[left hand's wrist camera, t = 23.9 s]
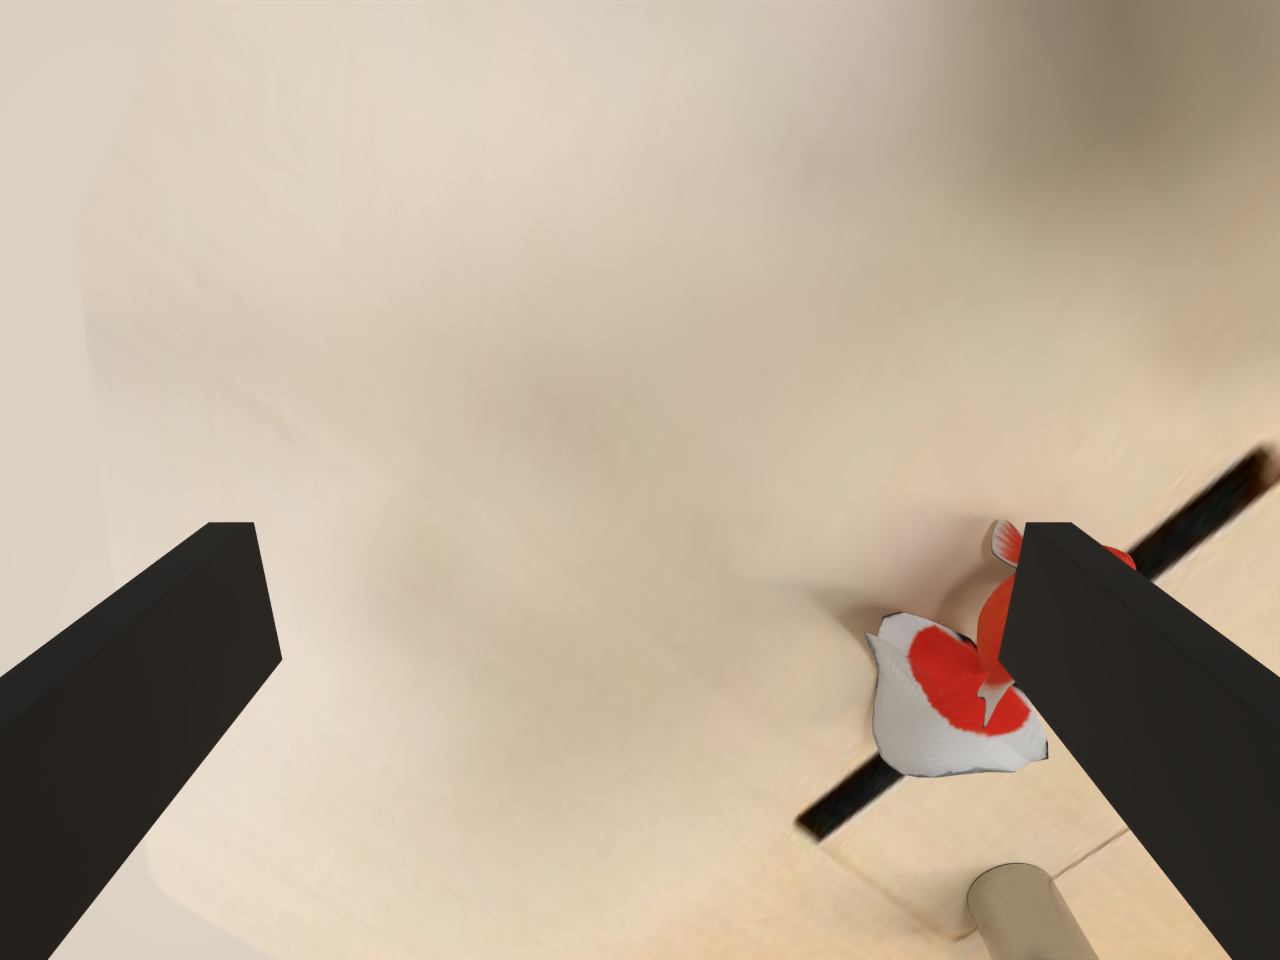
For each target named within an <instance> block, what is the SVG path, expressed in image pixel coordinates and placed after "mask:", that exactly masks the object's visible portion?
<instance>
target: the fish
mask: <svg viewBox="0 0 1280 960" xmlns="http://www.w3.org/2000/svg"><path fill="white" fill-rule="evenodd" d="M1022 540H1023V536H1022V535H1021V534H1020V533H1019V532H1018V531H1017V529H1016V528H1015V527H1014V526H1013V525H1012V524H1011V523H1009V522H1007V521H1000V520H997V523H996V525H995V528H994V530H993V532H992V543H991V548H992V552H993V554H994V555H995V556H996V557H998V558H999V559H1001V560H1002V561H1004V562H1005V563H1007V564H1008V565H1010V566H1012V567H1014V568H1016V569H1017V564H1018V559H1019V554H1020V550H1021V545H1022ZM1102 546H1104V545H1102ZM1104 547H1105V548H1106V549H1108V550H1109V551H1110V552H1112V553H1113V554H1114V555H1116V556H1117V557H1119V558H1120V559H1121V560H1123V561H1124V562H1125V563H1127V564H1128V565H1129V566H1131V567H1132V568H1133V569H1135V570H1136V567H1135V564H1134V562H1133V560H1132V558H1131V557H1130V556H1129V555H1128V554H1126V553H1124V552H1122V551H1120V550H1118V549H1115V548H1112V547H1108V546H1104ZM1014 578H1015V574H1014V575H1013V576H1011V577H1009V578H1008V579H1007V580H1005V581H1004V582H1003V583H1002V584H1000V585H999V586H998V587H997V588H996V589H995V591H994V592H993V593H992V595H991V596H990V597H989V599H988V600H987V601H986V603H985V605H984V607H983V609H982V611H981V613H980V616H979V620H978V628H977V640H976V641H972V640H971V639H970V638H968V637H966V636H964V635H962V634H960V633H957V632H955V631H953V630H951V629H949V628H946V627H944V626H942V625H940V624H937V623H935V622H933V621H930V620H927V619H924V618H921V617H918V616H915V615H911V614H907V613H903V612H898V613H894V614H890V615H887V616H883V618H882V622H881V625H880V629H879V633H878V636H875V635H872V634H869V633H866V632H864V634H865V637H866V639H867V642H868V644H869V646H870V649H871V651H872V653H873V655H874V657H875V661H876V664H877V667H878V671H879V674H878V679H877V684H876V691H875V701H874V710H873V736H874V739H875V741H876V744H877V747H878V750H879V752H880V755H881V757H882V759H884V760H885V761H886V762H887V763H888V764H889V765H890V766H891V767H892V768H894V769H895V770H897V771H898V772H900V773H901V774H904V775H909V776H914V777H944V776H952V775H960V774H971V773H982V772H1016V771H1017V770H1019V769H1021V768H1022V767H1024V766H1026V765H1027V764H1029V763H1031V762H1034V761H1039V760H1044V759H1048V742H1047V739H1046V736H1045V733H1044V731H1043V728H1042V725H1041V723H1040V721H1039V719H1038V717H1037V715H1036V713H1035V712H1034V710H1033V708H1032V706H1031V704H1030V702H1029V701H1028V699H1027V697H1026V695H1025V694H1024V693H1023V691H1022V690H1021V689H1020V688H1019V686H1018V685H1017V684H1016V682H1015V681H1014V680H1013V679H1012V677H1011V676H1010V675H1009V673H1008V672H1007V671H1006V670H1005V668H1004V667H1003V666H1002V665H1001V663H1000V662H999V661H998V655H999V651H1000V646H1001V641H1002V636H1003V631H1004V627H1005V622H1006V617H1007V612H1008V607H1009V603H1010V598H1011V593H1012V588H1013V583H1014Z"/></svg>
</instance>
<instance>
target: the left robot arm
mask: <svg viewBox="0 0 1280 960" xmlns="http://www.w3.org/2000/svg"><path fill="white" fill-rule="evenodd" d="M281 661H282V655H281V651H280V646H279V641H278V636H277V631H276V627H275V622H274V617H273V612H272V607H271V603H270V598H269V593H268V588H267V583H266V578H265V574H264V569H263V564H262V559H261V554H260V550H259V545H258V540H257V535H256V530H255V526H254V522H209V523H207V524H206V525H205V526H203V527H202V528H201V529H199V530H198V531H196V532H195V533H194V534H192V535H191V536H190V537H188V538H187V539H186V540H184V541H183V542H182V543H180V544H179V545H178V546H176V547H175V548H174V549H172V550H171V551H170V552H168V553H167V554H166V555H164V556H163V557H161V558H160V559H159V560H157V561H156V562H155V563H153V564H152V565H151V566H149V567H148V568H147V569H145V570H144V571H143V572H141V573H140V574H139V575H137V576H136V577H135V578H133V579H132V580H131V581H129V582H128V583H126V584H125V585H124V586H122V587H121V588H120V589H118V590H117V591H116V592H114V593H113V594H112V595H110V596H109V597H108V598H106V599H105V600H104V601H102V602H101V603H100V604H98V605H97V606H96V607H94V608H93V609H92V610H90V611H89V612H87V613H86V614H85V615H83V616H82V617H81V618H79V619H78V620H77V621H75V622H74V623H73V624H71V625H70V626H69V627H67V628H66V629H65V630H63V631H62V632H61V633H59V634H58V635H57V636H55V637H54V638H52V639H51V640H50V641H48V642H47V643H46V644H44V645H43V646H42V647H40V648H39V649H38V650H36V651H35V652H34V653H32V654H31V655H30V656H28V657H27V658H26V659H24V660H23V661H22V662H20V663H19V664H17V665H16V666H15V667H14V668H12V669H11V670H9V671H8V672H7V673H5V674H4V675H3V676H1V677H0V960H48V959H49V958H50V956H51V955H52V954H53V952H54V951H55V950H56V949H57V947H58V946H59V945H60V943H61V942H62V941H63V940H64V938H65V937H66V936H67V934H68V933H69V932H70V931H71V929H72V928H73V927H74V925H75V924H76V923H77V922H78V920H79V919H80V918H81V917H82V915H83V914H84V913H85V911H86V910H87V909H88V908H89V906H90V905H91V904H92V902H93V901H94V900H95V899H96V897H97V896H98V895H99V894H100V892H101V891H102V890H103V888H104V887H105V886H106V885H107V883H108V882H109V881H110V879H111V878H112V877H113V876H114V874H115V873H116V872H117V870H118V869H119V868H120V867H121V865H122V864H123V863H124V861H125V860H126V859H127V858H128V856H129V855H130V854H131V853H132V851H133V850H134V849H135V847H136V846H137V845H138V844H139V842H140V841H141V840H142V839H143V837H144V836H145V835H146V833H147V832H148V831H149V830H150V828H151V827H152V826H153V824H154V823H155V822H156V821H157V819H158V818H159V817H160V815H161V814H162V813H163V812H164V810H165V809H166V808H167V807H168V805H169V804H170V803H171V801H172V800H173V799H174V798H175V796H176V795H177V794H178V792H179V791H180V790H181V789H182V787H183V786H184V785H185V784H186V782H187V781H188V780H189V778H190V777H191V776H192V775H193V773H194V772H195V771H196V769H197V768H198V767H199V766H200V764H201V763H202V762H203V760H204V759H205V758H206V757H207V755H208V754H209V753H210V752H211V750H212V749H213V748H214V746H215V745H216V744H217V743H218V741H219V740H220V739H221V737H222V736H223V735H224V734H225V732H226V731H227V730H228V728H229V727H230V726H231V725H232V723H233V722H234V721H235V720H236V718H237V717H238V716H239V714H240V713H241V712H242V711H243V709H244V708H245V707H246V705H247V704H248V703H249V702H250V700H251V699H252V698H253V697H254V695H255V694H256V693H257V691H258V690H259V689H260V688H261V686H262V685H263V684H264V682H265V681H266V680H267V679H268V677H269V676H270V675H271V673H272V672H273V671H274V670H275V668H276V667H277V666H278V665H279V663H280V662H281ZM998 661H999V662H1000V663H1001V665H1002V666H1003V667H1004V668H1005V670H1006V671H1007V672H1008V673H1009V675H1010V676H1011V677H1012V679H1013V680H1014V681H1015V682H1016V684H1017V685H1018V686H1019V688H1020V689H1021V690H1022V691H1023V693H1024V694H1025V695H1026V697H1027V698H1028V699H1029V700H1030V702H1031V703H1032V704H1033V705H1034V707H1035V708H1036V709H1037V711H1038V712H1039V713H1040V714H1041V716H1042V717H1043V718H1044V720H1045V721H1046V722H1047V723H1048V725H1049V726H1050V727H1051V728H1052V730H1053V731H1054V732H1055V734H1056V735H1057V736H1058V737H1059V739H1060V740H1061V741H1062V743H1063V744H1064V745H1065V746H1066V748H1067V749H1068V750H1069V752H1070V753H1071V754H1072V755H1073V757H1074V758H1075V759H1076V760H1077V762H1078V763H1079V764H1080V766H1081V767H1082V768H1083V769H1084V771H1085V772H1086V773H1087V775H1088V776H1089V777H1090V778H1091V780H1092V781H1093V782H1094V784H1095V785H1096V786H1097V787H1098V789H1099V790H1100V791H1101V792H1102V794H1103V795H1104V796H1105V798H1106V799H1107V800H1108V801H1109V803H1110V804H1111V805H1112V807H1113V808H1114V809H1115V810H1116V812H1117V813H1118V814H1119V815H1120V817H1121V818H1122V819H1123V821H1124V822H1125V823H1126V824H1127V826H1128V827H1129V828H1130V830H1131V831H1132V832H1133V833H1134V835H1135V836H1136V837H1137V839H1138V840H1139V841H1140V842H1141V844H1142V845H1143V846H1144V847H1145V849H1146V850H1147V851H1148V853H1149V854H1150V855H1151V856H1152V858H1153V859H1154V860H1155V862H1156V863H1157V864H1158V865H1159V867H1160V868H1161V869H1162V871H1163V872H1164V873H1165V874H1166V876H1167V877H1168V878H1169V879H1170V881H1171V882H1172V883H1173V885H1174V886H1175V887H1176V888H1177V890H1178V891H1179V892H1180V894H1181V895H1182V896H1183V897H1184V899H1185V900H1186V901H1187V902H1188V904H1189V905H1190V906H1191V908H1192V909H1193V910H1194V911H1195V913H1196V914H1197V915H1198V917H1199V918H1200V919H1201V920H1202V922H1203V923H1204V924H1205V926H1206V927H1207V928H1208V929H1209V931H1210V932H1211V933H1212V934H1213V936H1214V937H1215V938H1216V940H1217V941H1218V942H1219V943H1220V945H1221V946H1222V947H1223V949H1224V950H1225V951H1226V952H1227V954H1228V955H1229V956H1230V958H1231V959H1232V960H1280V677H1279V676H1277V675H1276V674H1275V673H1273V672H1272V671H1271V670H1269V669H1268V668H1267V667H1265V666H1264V665H1263V664H1261V663H1260V662H1258V661H1257V660H1256V659H1254V658H1253V657H1252V656H1250V655H1249V654H1248V653H1246V652H1245V651H1244V650H1242V649H1241V648H1240V647H1238V646H1237V645H1236V644H1234V643H1233V642H1232V641H1230V640H1229V639H1228V638H1226V637H1225V636H1223V635H1222V634H1221V633H1219V632H1218V631H1217V630H1215V629H1214V628H1213V627H1211V626H1210V625H1209V624H1207V623H1206V622H1205V621H1203V620H1202V619H1201V618H1199V617H1198V616H1197V615H1195V614H1194V613H1193V612H1191V611H1190V610H1188V609H1187V608H1186V607H1184V606H1183V605H1182V604H1180V603H1179V602H1178V601H1176V600H1175V599H1174V598H1172V597H1171V596H1170V595H1168V594H1167V593H1166V592H1164V591H1163V590H1162V589H1160V588H1159V587H1158V586H1156V585H1155V584H1153V583H1152V582H1151V581H1149V580H1148V579H1147V578H1145V577H1144V576H1143V575H1141V574H1140V573H1139V572H1137V571H1136V570H1135V569H1133V568H1132V567H1131V566H1129V565H1128V564H1127V563H1125V562H1124V561H1123V560H1121V559H1120V558H1119V557H1117V556H1116V555H1114V554H1113V553H1112V552H1110V551H1109V550H1108V549H1106V548H1105V547H1104V546H1102V545H1101V544H1100V543H1098V542H1097V541H1096V540H1094V539H1093V538H1092V537H1090V536H1089V535H1088V534H1086V533H1085V532H1084V531H1082V530H1081V529H1079V528H1078V527H1077V526H1075V525H1074V524H1073V523H1071V522H1026V526H1025V530H1024V535H1023V540H1022V545H1021V550H1020V554H1019V559H1018V564H1017V569H1016V574H1015V578H1014V583H1013V588H1012V593H1011V598H1010V603H1009V607H1008V612H1007V617H1006V622H1005V627H1004V631H1003V636H1002V641H1001V646H1000V651H999V655H998Z"/></svg>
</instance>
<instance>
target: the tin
mask: <svg viewBox="0 0 1280 960" xmlns="http://www.w3.org/2000/svg"><path fill="white" fill-rule="evenodd" d="M967 901H968V906H969V909H970V911H971V914H972V916H973V918H974V920H975V922H976V925H977V927H978V929H979V931H980V934H981V936H982V938H983V940H984V942H985V945H986V947H987V949H988V951H989V953H990V956H991V958H992V960H1099V958H1098V956H1097V955H1096V953H1095V951H1094V950H1093V948H1092V946H1091V945H1090V943H1089V941H1088V940H1087V938H1086V936H1085V934H1084V933H1083V931H1082V929H1081V928H1080V926H1079V924H1078V923H1077V921H1076V919H1075V918H1074V916H1073V914H1072V912H1071V911H1070V909H1069V907H1068V906H1067V904H1066V902H1065V901H1064V899H1063V897H1062V896H1061V894H1060V892H1059V890H1058V889H1057V887H1056V885H1055V884H1054V882H1053V880H1052V879H1051V877H1050V876H1049V875H1048V874H1047V873H1046V872H1045V871H1043V870H1042V869H1040V868H1038V867H1035V866H1032V865H1028V864H1008V865H1003V866H999V867H997V868H994V869H992V870H990V871H988V872H986V873H984V874H983V875H982V876H980V877H979V878H978V879H977V880H976V881H975V882H974V883H973V885H972V886H971V888H970V890H969V893H968V900H967Z"/></svg>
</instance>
